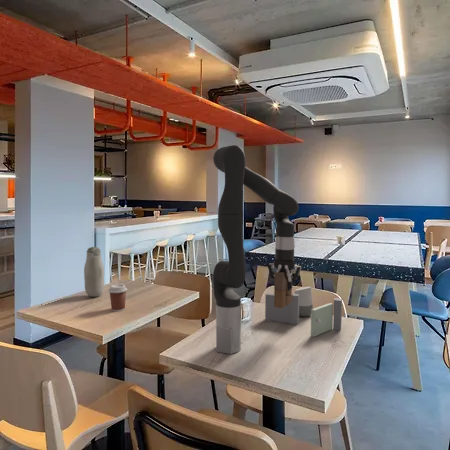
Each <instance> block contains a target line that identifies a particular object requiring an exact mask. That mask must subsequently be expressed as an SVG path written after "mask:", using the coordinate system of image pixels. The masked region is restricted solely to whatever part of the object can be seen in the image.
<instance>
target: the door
mask: <svg viewBox="0 0 450 450" xmlns="http://www.w3.org/2000/svg"><path fill="white" fill-rule="evenodd" d="M333 320H334V303H332V302H329V303H328V302H327V303H326V304H323V305H320V306H317V307H314V308H313V309H311V315H310V336H311V337H314V338H315V337H318V335H321V334H324V333H326V332H328V331H330V330H333Z"/></svg>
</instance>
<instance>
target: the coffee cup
mask: <svg viewBox="0 0 450 450" xmlns="http://www.w3.org/2000/svg"><path fill="white" fill-rule="evenodd" d="M107 291H108V293H109V299H110V305H111V306H110V307H111V311H113V312H121V311H125V309H126V299H127V298H126V295H127V294H126V293H127V291H128V288H127V287H126V285H125V284H123V283H122V284H121V283H116V284H112V285H110V286H109V288H108V290H107Z"/></svg>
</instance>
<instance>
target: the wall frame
mask: <svg viewBox="0 0 450 450" xmlns="http://www.w3.org/2000/svg"><path fill="white" fill-rule="evenodd" d="M292 294H293V302H292V303H290V304H288V305H285V307H284V308H276V307H274V293H265V295H264V296H265V298H264V299H265V303H264V304H265V311H264V313H265V314H264V317H265V318H264V320H265V321H270V322H277V323H285V324H290V325H299V323H300V316H299V294H295V293H292ZM342 312H343V299H342V298H338V297H336V298H335V297H334V299H333V325H332V330H334V331H341V329H342V314H343V313H342Z"/></svg>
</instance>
